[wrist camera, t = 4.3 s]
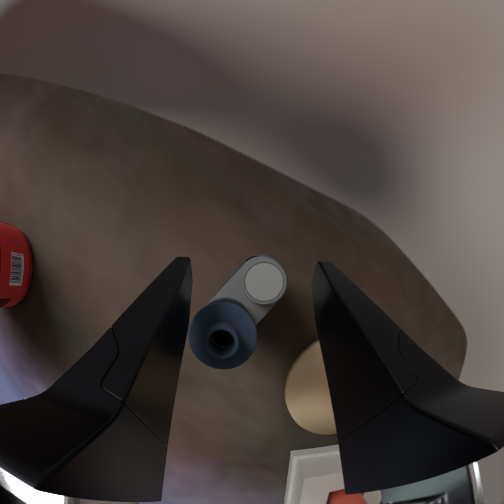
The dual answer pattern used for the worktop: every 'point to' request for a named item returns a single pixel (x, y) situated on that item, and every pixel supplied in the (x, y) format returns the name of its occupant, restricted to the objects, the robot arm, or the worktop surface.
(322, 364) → the coaster
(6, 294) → the canned food
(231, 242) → the worktop surface
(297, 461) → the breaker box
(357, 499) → the button
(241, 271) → the vaping device
